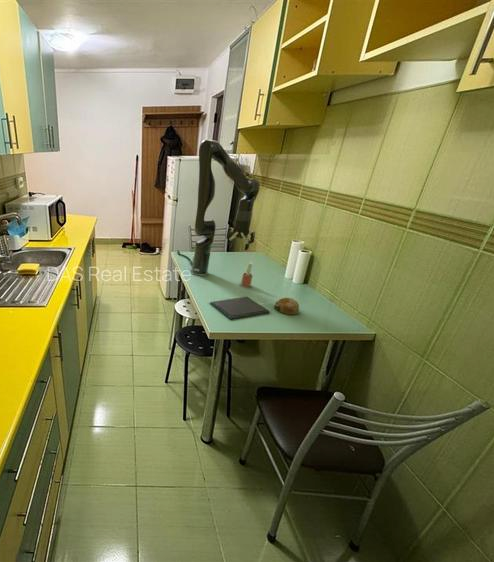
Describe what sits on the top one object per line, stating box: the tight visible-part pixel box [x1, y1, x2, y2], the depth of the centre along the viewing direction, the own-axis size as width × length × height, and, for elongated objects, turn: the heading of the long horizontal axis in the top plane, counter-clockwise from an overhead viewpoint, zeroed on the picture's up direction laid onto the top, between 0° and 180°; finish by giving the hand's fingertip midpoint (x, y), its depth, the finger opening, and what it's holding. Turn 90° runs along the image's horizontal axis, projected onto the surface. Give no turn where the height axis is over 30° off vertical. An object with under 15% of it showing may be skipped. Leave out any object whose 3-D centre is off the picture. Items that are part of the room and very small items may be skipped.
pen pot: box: [240, 272, 254, 288], centre depth 170 cm, size 5×5×7 cm
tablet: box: [209, 296, 271, 320], centre depth 147 cm, size 16×22×1 cm
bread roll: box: [274, 297, 300, 316], centre depth 145 cm, size 10×10×8 cm
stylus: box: [245, 262, 253, 276], centre depth 169 cm, size 2×2×13 cm
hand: (238, 248), depth 165 cm, fingers open, 8 cm apart
